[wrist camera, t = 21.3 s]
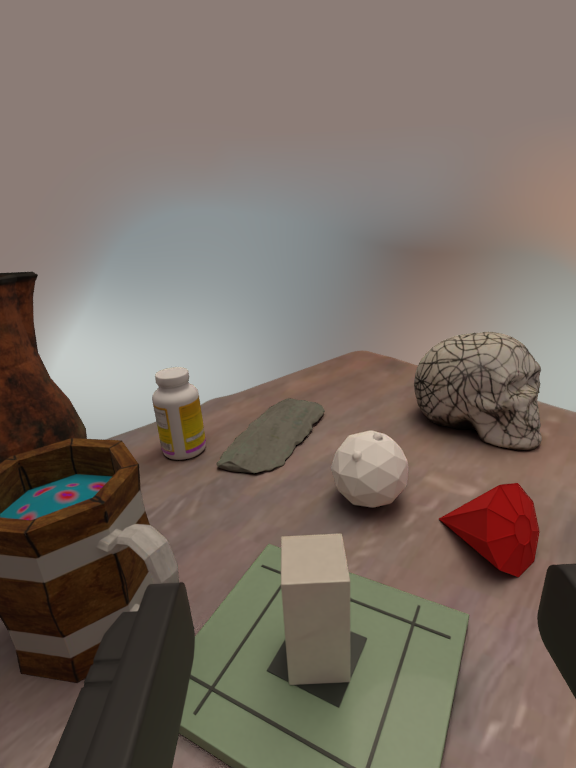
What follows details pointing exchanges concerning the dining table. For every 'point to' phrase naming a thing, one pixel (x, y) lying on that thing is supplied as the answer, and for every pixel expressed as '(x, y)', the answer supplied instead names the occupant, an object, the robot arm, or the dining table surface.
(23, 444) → the pitcher
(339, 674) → the beige rectangular block
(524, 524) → the gemstone
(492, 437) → the sculpture
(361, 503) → the decorative ball
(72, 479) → the mug
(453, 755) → the dining table surface
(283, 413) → the stone slab
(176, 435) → the supplement bottle
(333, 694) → the grid board
